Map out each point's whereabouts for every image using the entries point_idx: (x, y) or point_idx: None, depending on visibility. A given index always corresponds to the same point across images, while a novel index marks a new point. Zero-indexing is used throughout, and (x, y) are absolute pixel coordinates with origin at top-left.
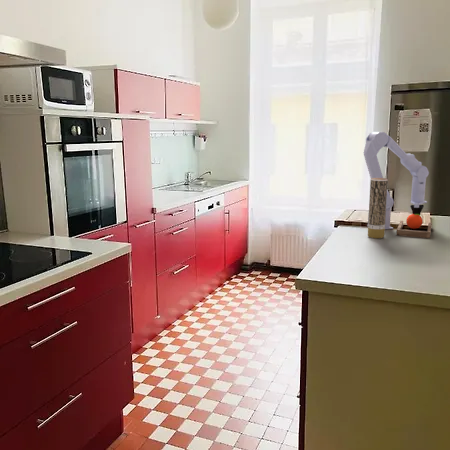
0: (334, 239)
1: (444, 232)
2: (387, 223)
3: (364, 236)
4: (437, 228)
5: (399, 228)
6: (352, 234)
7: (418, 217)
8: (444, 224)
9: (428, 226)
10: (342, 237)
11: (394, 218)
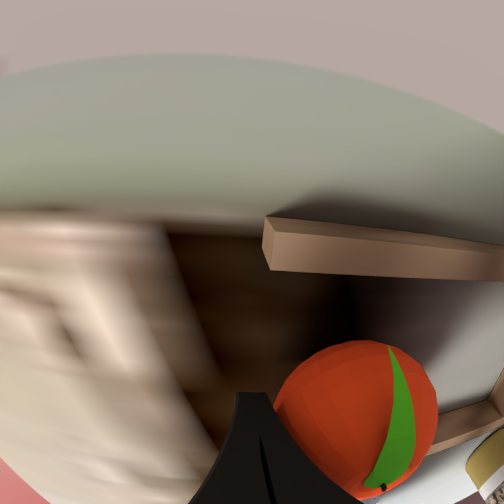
0: (474, 490)
1: (435, 110)
2: (372, 501)
3: None
4: (260, 143)
5: (486, 427)
6: (436, 498)
7: (435, 423)
8: (27, 78)
9: (475, 277)
10: (462, 492)
11: (12, 435)
